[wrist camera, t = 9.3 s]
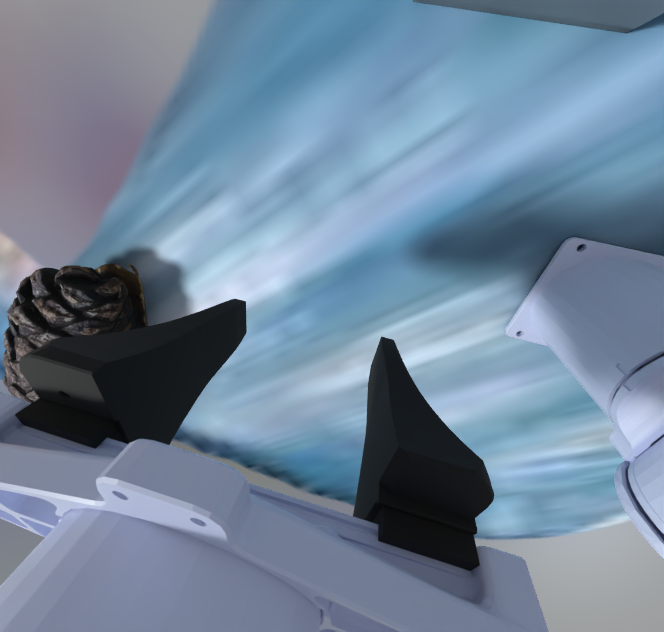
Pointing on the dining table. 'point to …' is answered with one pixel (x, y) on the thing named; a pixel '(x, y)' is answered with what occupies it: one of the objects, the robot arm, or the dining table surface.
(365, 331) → the dining table surface
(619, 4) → the big crate
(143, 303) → the pine cone
